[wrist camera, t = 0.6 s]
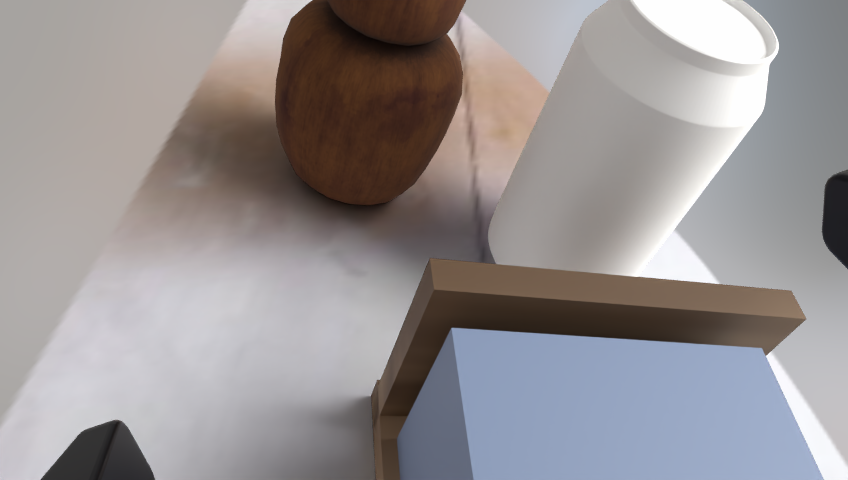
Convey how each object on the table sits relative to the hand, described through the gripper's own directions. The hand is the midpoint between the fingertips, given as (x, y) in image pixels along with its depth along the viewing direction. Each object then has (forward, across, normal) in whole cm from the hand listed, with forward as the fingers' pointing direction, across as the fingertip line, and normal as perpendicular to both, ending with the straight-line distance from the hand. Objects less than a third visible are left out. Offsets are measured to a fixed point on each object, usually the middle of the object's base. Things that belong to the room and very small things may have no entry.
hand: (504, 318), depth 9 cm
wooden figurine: (+22, 0, +7) cm, 23 cm away
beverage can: (+18, -7, +11) cm, 22 cm away
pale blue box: (+8, -2, +13) cm, 15 cm away
